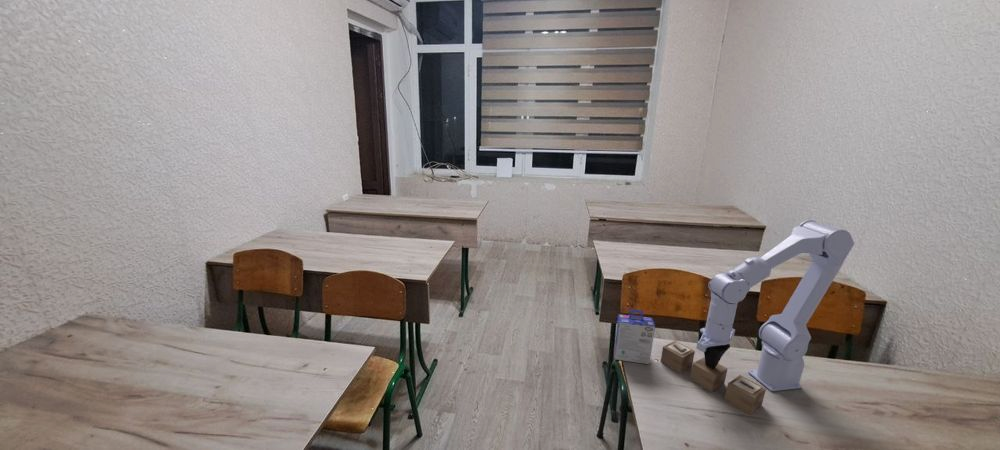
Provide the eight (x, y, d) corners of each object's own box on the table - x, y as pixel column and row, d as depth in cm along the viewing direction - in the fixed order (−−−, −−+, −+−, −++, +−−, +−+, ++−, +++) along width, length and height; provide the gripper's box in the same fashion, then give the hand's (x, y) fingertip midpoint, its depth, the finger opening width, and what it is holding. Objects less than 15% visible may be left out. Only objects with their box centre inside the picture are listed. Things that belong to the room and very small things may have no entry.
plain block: (702, 372, 106) (705, 356, 105) (724, 384, 101) (727, 368, 100) (689, 379, 103) (692, 363, 102) (711, 392, 98) (715, 376, 97)
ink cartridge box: (647, 353, 113) (654, 310, 109) (650, 365, 108) (657, 319, 104) (613, 349, 115) (618, 305, 111) (614, 360, 110) (620, 315, 106)
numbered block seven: (672, 355, 113) (675, 339, 112) (692, 366, 108) (695, 349, 107) (660, 361, 110) (663, 345, 109) (679, 373, 105) (682, 356, 104)
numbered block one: (736, 391, 99) (740, 373, 97) (761, 405, 94) (766, 387, 93) (724, 400, 96) (728, 381, 94) (749, 415, 91) (754, 396, 89)
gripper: (719, 306, 104) (710, 350, 108) (688, 320, 96) (680, 366, 100) (747, 318, 98) (736, 363, 102) (716, 333, 91) (706, 382, 94)
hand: (710, 366), depth 101 cm, fingers closed
